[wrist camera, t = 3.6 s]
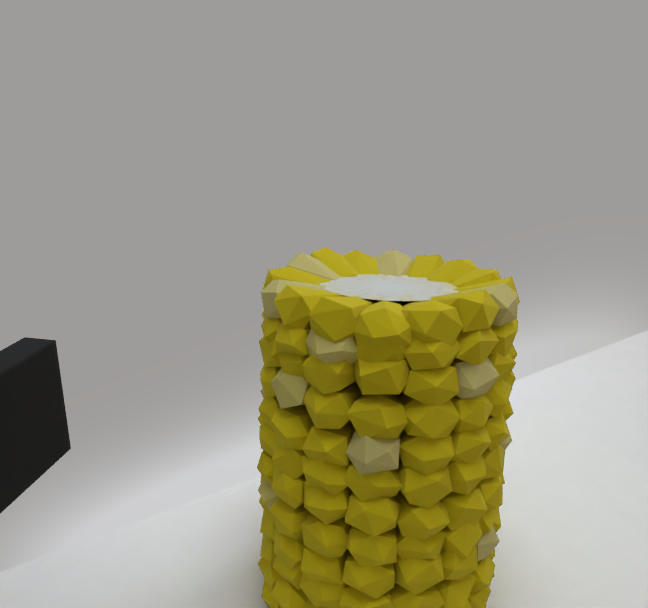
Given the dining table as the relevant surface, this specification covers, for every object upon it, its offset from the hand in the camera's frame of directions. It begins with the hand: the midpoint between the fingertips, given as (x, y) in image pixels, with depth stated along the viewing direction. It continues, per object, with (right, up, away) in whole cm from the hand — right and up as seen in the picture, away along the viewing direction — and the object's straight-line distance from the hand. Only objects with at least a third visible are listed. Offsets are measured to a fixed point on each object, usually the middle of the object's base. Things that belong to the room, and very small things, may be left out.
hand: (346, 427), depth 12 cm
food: (+2, -10, +14) cm, 17 cm away
